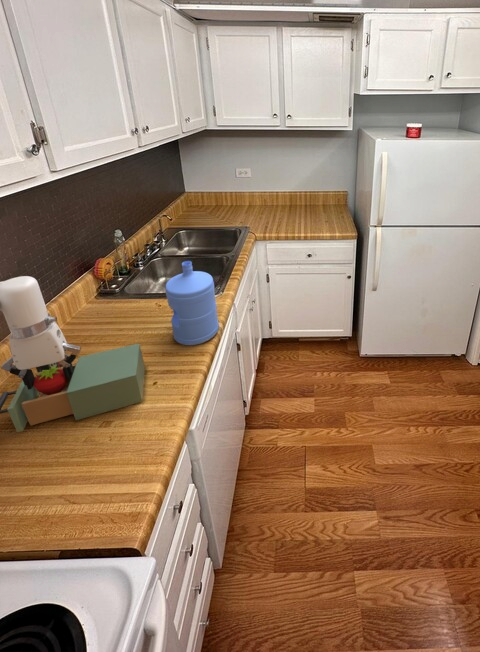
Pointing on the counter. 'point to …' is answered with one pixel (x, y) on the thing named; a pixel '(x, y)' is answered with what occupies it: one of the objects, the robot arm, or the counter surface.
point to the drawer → (36, 405)
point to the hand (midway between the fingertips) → (51, 380)
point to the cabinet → (107, 381)
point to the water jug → (192, 306)
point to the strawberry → (50, 381)
